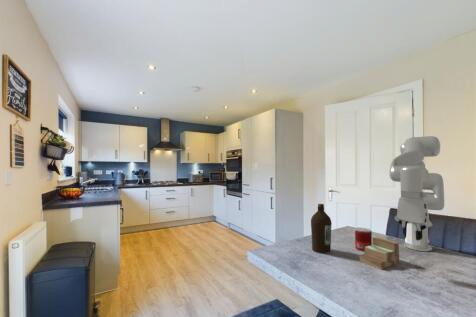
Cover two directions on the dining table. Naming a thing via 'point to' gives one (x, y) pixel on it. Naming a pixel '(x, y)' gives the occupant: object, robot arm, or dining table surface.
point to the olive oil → (321, 231)
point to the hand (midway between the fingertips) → (412, 237)
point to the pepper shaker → (411, 234)
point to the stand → (381, 253)
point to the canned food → (363, 238)
